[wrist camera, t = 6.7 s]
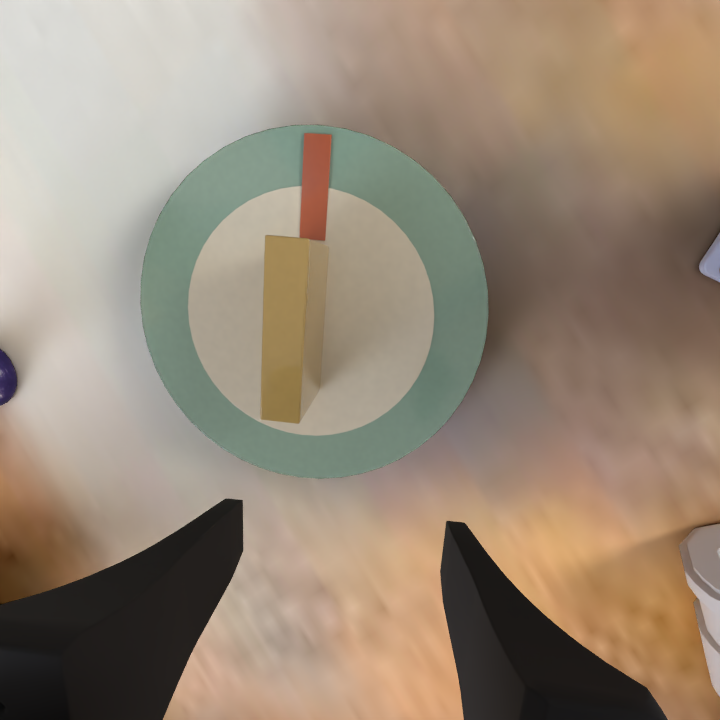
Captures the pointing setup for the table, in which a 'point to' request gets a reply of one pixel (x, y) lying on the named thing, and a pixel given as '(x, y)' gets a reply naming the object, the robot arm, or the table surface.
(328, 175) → the dial knob
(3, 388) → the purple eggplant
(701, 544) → the folded white towel
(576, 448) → the table surface
